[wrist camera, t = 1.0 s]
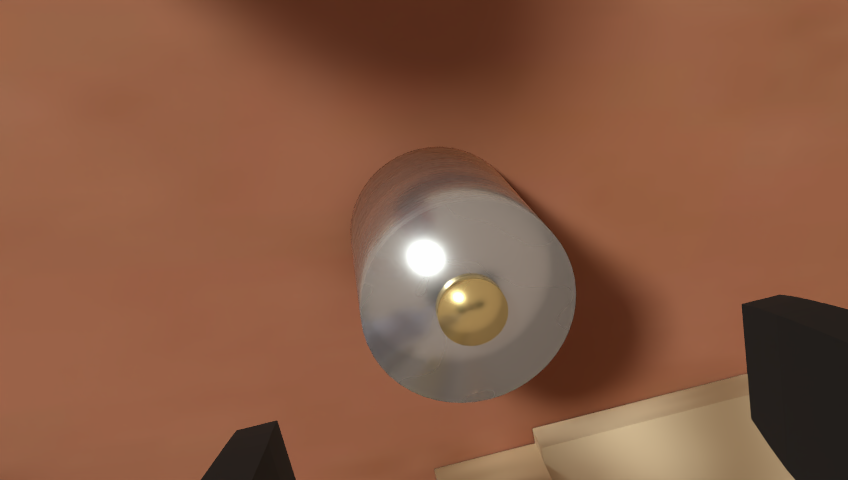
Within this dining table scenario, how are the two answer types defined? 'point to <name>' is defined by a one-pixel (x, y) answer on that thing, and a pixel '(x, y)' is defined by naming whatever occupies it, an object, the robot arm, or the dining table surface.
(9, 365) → the dining table surface
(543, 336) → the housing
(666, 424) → the press frame
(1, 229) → the dining table surface
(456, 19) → the dining table surface
